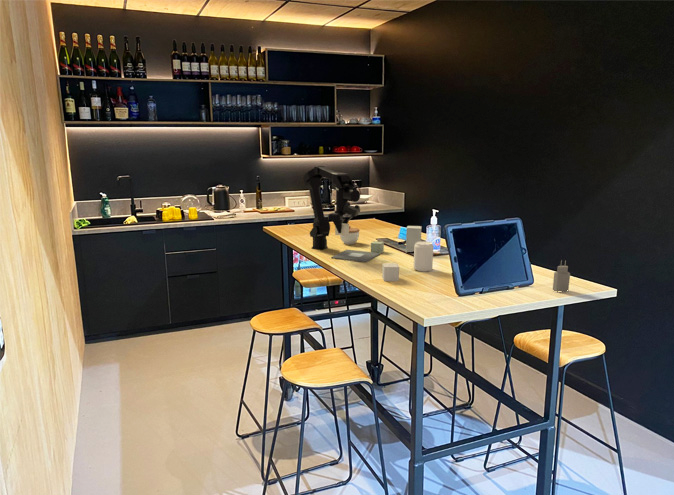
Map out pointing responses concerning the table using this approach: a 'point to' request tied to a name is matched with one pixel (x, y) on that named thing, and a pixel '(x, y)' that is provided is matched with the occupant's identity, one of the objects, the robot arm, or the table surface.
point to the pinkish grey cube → (390, 272)
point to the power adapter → (561, 278)
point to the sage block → (377, 247)
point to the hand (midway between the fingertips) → (342, 232)
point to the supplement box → (412, 237)
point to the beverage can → (423, 256)
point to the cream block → (343, 230)
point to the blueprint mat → (356, 255)
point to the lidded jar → (350, 236)
